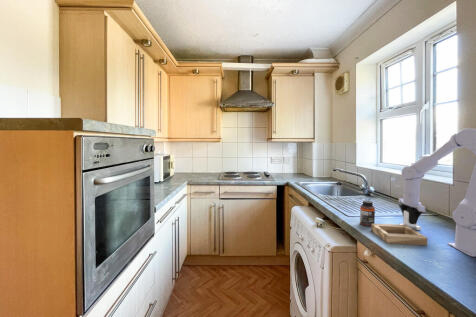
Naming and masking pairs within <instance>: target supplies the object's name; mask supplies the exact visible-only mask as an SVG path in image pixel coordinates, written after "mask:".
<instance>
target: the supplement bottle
mask: <svg viewBox="0 0 476 317" xmlns="http://www.w3.org/2000/svg"><path fill="white" fill-rule="evenodd" d="M373 203H374V202H373V201H371V200H366V199H365V200H363V201H362V204H361V205H360V206H359V207H360V209H359V210H360V212H359V214H360V215H359V224H360V225H363V226H365V227H371V224H375V214H376V208H375V206H374V205H373Z"/></svg>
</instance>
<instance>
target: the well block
mask: <svg viewBox="0 0 476 317" xmlns="http://www.w3.org/2000/svg"><path fill="white" fill-rule="evenodd" d="M370 231H372V233H374V234H375V235H376V236H378V237H379V238H380V239H381V240H383V241H384V242H385V243H386V244H390V245H391V244H393V245H412V246H415V245H416V246H428V237H427V236H425V235H423V234H421V233H420V232H418V230H413V229H411V228H410V227H408V226H406V225H399V224H393V223H391V224H390V223H388V224H387V223H374V224H371V226H370Z"/></svg>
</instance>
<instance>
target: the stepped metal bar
mask: <svg viewBox="0 0 476 317" xmlns="http://www.w3.org/2000/svg"><path fill="white" fill-rule="evenodd" d="M402 219H403V220H402V222H403V223H398V225H406V226H408V227H410V228H411V229H413V230H415V231H422V230H421V228H422V226H420V225H418V224H417V223H418V222H417V223H416V224H410V221H409V213H408V210H404V216H403V215H402Z"/></svg>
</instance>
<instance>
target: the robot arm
mask: <svg viewBox="0 0 476 317" xmlns="http://www.w3.org/2000/svg"><path fill="white" fill-rule="evenodd" d="M464 148H466V150H470V151H471V152H472V153H473V154H474V155H475V156H476V128H472V127H471V128H470V127H466V128H462V129H460V130H458V131H457V133H454V134H452V135H451V136H450V138H448V139H447V141H445V142H444V143H443V144H442V145H440V146H439V147H438V148H437V149H436V150H434V151H433V152H432V153H430V154H424V155H420V156H419V159H417V160H416V161H415V162H412V163H411V164H410V166H409V165H407V166H403V168H402V169H401V173H400V174H401V176H402V178H403V179H404V180H403V194H402V195H403V198H400V197H399V198H398V203H400V204H399V205H398V207H399V209H400V211H401V212H402V217H403V216H404V210H408V213H409V221H410V224H416V223H418V220H419V218H420V217H421V215H422V214H423V212H426V206H424V205H423V204H422V202H420V199H421V198H420V197H421V194H420V193H421V182H422V179H423V178H424V176H426V173H428V172H430V171H431V170H432V169H434V168H436V167H437V166H438V164H439V161H440V160H442V159H443V158H445V157H446V156H448V155H450V154H452V153H454V151H456V150H458V149H464ZM451 214H452V219H453V221H454V222H455V235H454V237H455V238H454V242H447V245H449V246H450V247H453V248H455V249H457V250H458V251H460V252H461V253H464V254H465V255H467V256H469V257H474V258H475V257H476V162H475V163H474V167H473V170H472V173H471V176H470V180H469V184H468V186H467V189H466V193H465V196H464V198H463V200H461V201H460V202H459V203H458V205H457V207H456V209H454V210H453V212H452V213H451Z"/></svg>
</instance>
